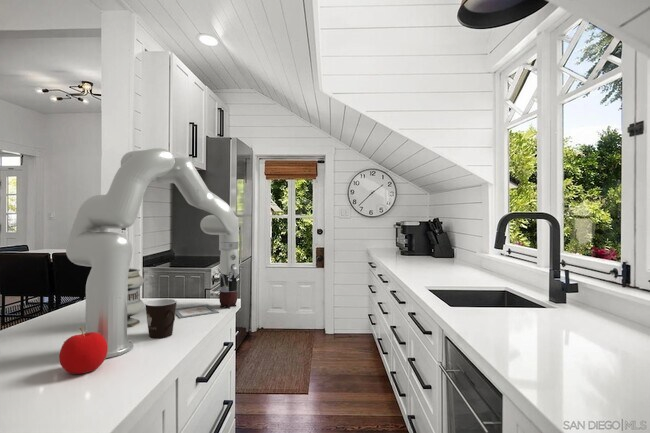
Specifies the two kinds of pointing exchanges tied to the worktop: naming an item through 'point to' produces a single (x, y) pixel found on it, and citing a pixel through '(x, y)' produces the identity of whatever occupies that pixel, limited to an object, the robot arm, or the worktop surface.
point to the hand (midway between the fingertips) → (228, 288)
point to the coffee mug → (160, 317)
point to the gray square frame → (180, 316)
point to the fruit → (83, 352)
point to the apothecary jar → (134, 296)
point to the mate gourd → (227, 296)
